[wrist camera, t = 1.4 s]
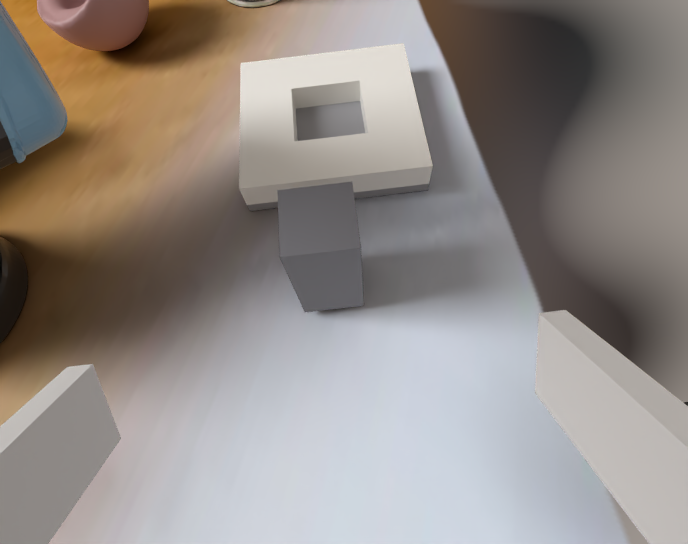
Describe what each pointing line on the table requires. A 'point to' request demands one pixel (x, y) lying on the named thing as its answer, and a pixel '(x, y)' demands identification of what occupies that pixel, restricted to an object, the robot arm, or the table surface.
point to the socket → (331, 125)
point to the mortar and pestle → (96, 21)
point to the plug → (321, 245)
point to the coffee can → (253, 2)
